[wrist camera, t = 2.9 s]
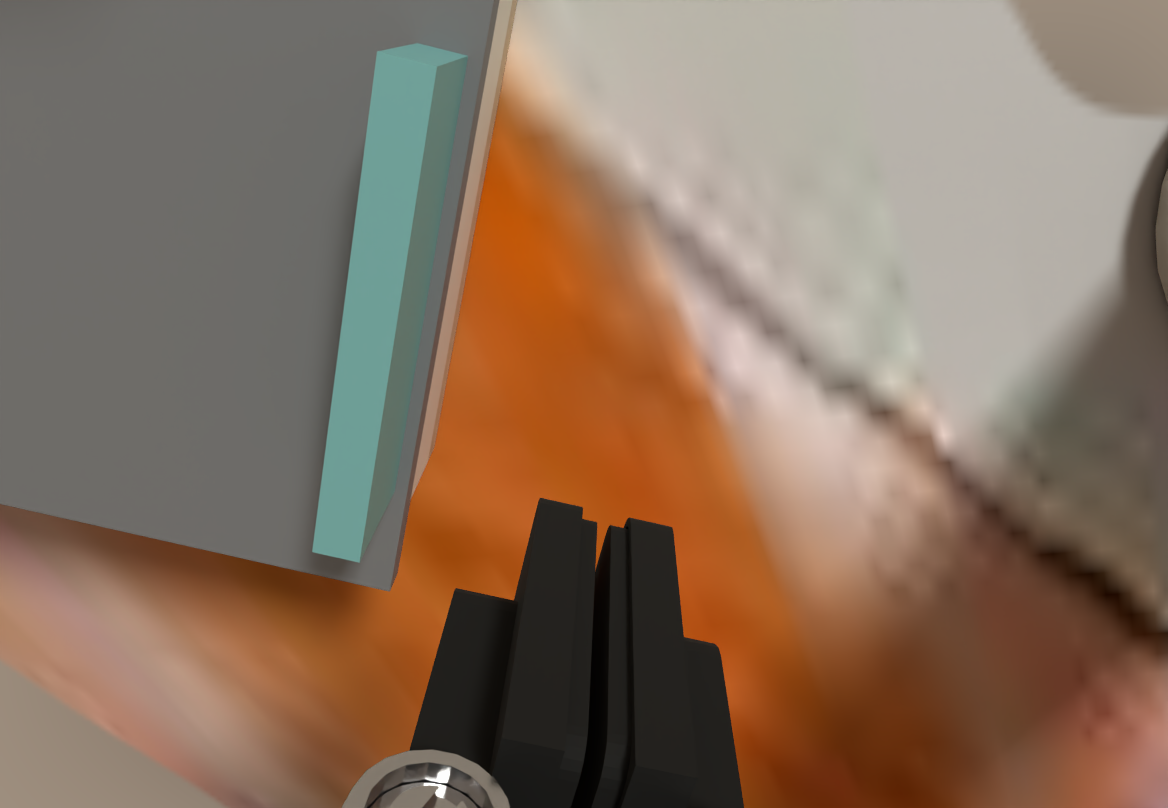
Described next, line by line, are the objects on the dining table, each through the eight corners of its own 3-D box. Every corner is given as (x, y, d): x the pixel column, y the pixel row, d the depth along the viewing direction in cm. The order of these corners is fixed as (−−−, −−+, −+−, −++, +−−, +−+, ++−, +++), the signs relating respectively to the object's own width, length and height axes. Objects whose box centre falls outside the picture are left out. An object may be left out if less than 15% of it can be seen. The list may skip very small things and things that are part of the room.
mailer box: (529, -64, 23) (495, -83, 18) (434, 447, 29) (387, 550, 24) (-271, -272, 22) (-567, -360, 17) (-196, 300, 28) (-396, 373, 23)
